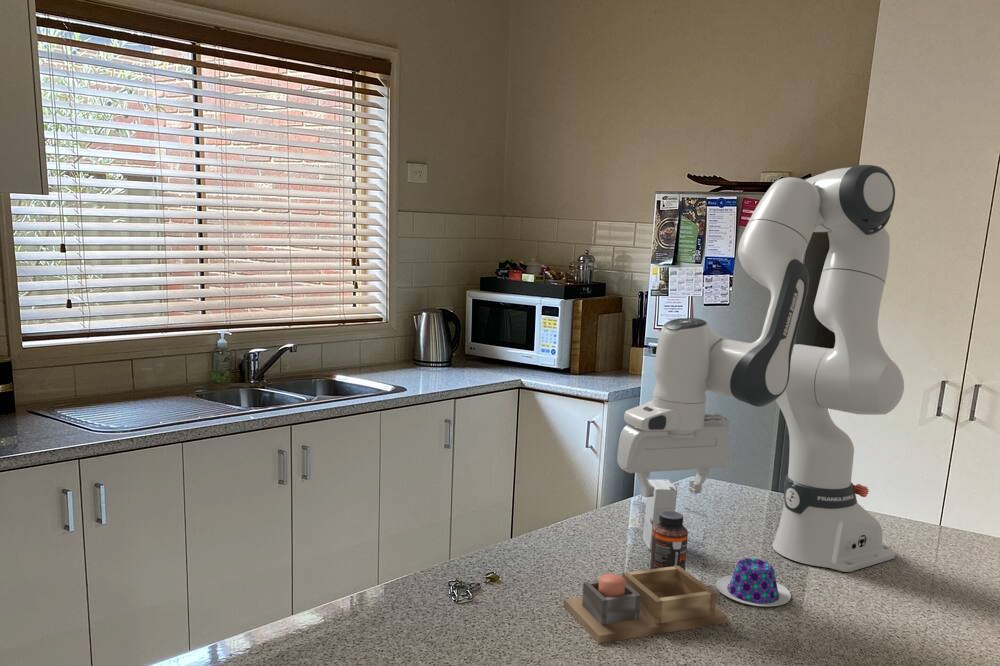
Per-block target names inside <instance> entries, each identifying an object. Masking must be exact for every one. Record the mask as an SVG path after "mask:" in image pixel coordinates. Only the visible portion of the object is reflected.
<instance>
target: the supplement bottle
mask: <svg viewBox="0 0 1000 666" xmlns="http://www.w3.org/2000/svg"><path fill="white" fill-rule="evenodd" d="M659 521H660V522H659V523H657V524H656V525H655V526H654V528H653V535H652V548H651V550H650V551H651V552H650V565H649V566H650V567H649V569H657V568H665V567H673V566H680V567H681V568H682V569H684V570H685V571H686V565H687V563H686V562H687V550H688V538H689V532H688V529H687V527H685V526H684V515H683V514H682V513H680V512H678V511H675V512H674V511H663V512H661V513H660V517H659Z"/></svg>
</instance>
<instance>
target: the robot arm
mask: <svg viewBox="0 0 1000 666" xmlns="http://www.w3.org/2000/svg"><path fill="white" fill-rule="evenodd" d="M890 175H891V174H889V173H888V172H887V171H886V169H884V168H883V167H881V166H878V165H872V164H857V165H853V166H852V167H851V166H849V167H842V168H835V169H832V170H828V171H825V172H823V173H819V174H816V175H813V176H811V177H805V178H801V177H800V178H799V177H795V176H794V177H792V176H791V177H789V176H788V177H783V178H779V179H778V180H776V181H775V182H773V183H772V184H771V186H770V187H768V189H767V191H766V192H765V193H764V195H763V196H762V198H760V201H759V202H758V203H757V205H756V206H755V209H754V210H753V212H752V214H751V216H750V217H749V220H748V222H747V224H746V226H745V228H744V230H743V232H742V234H741V237H740V240H739V242H738V247H737V256H738V260H739V263H740V266H741V267H742V269H743V270H744V271H745V273H746V274H748V276H750V277H751V278H752V279H753V280H754V281H755V282H757V283H759V284H760V285H761V286H763V287H765V288H766V289H767V290H769V291H770V301H769V305H768V309H767V313H766V316H765V319H764V322H763V323H764V324H763V328H762V330H761V333H760V336H759V338H757V340H755V341H753V342H745V341H740V340H733V339H731V338H726V337H724V336H723V335H720V334H718V333H716V332H715V331H713V330H712V329H711V328H710V327H709V324H708V322H707V321H706V320H704V319H700V318H695V317H684V318H683V317H681V318H675V319H671V320H669V321H667V322H666V323H664V324H663V326H661V327H662V328H661V330H660V333H659V335H658V338H657V339H658V340H657V343H656V344H657V345H656V352H655V360H654V374H655V386H654V389H653V391H652V396H651V398H652V399H651V400H649V401H647V402H645V403H642V404H640V405H637V406H635V407H632V408H630V409H627V410H625V412H624V415H623V421H624V422H625V423H626V425H625V426H624V427H623V428H622V430H621V432H620V434H619V435H620V436H619V438H618V439H619V441H618V446H617V455H616V461H617V462H616V463H617V464H618V466H619V467H620V469H622V470H623V471H625V472H627V473H628V474H635V475H636V478H637V480H638V482H639V484H640V485H641V487H640V495H641V496H642V497H643V498H647V497H653V496H654V493H653V492H654V487H653V486H651V485H649V483H648V479H649V478H651V477H650V476H651V473H655V472H657V473H658V472H669V471H670V472H672V471H686V470H689V471H691V470H694V471H695V472H696V474H695V477H694V478H693V480H690V481H689V482H688V491H689V493H692V494H695V495H697V494H701V493H702V490H703V489H702V488H703V484H704V483H705V481H706V480H707V478H708V476H709V475H710V469H718V468H719V469H720V468H725V467H726V466H727V464H728V463H729V461H730V460H729V459H730V439H729V438H730V437H729V431H730V430H729V429H730V421H729V419H728V418H727V417H726V416H725V415H723V414H722V413H718V412H717V413H713V414H712V413H706V405H707V396H706V395H707V394H706V392H710V393H714V394H717V395H720V396H723V397H728V398H732V399H736V400H737V401H740V402H743V403H746V404H748V405H751V406H753V407H757V408H759V407H761V408H762V407H765V406H768V405H769V404H771V403H773V402H774V401H775V402H776V404H777V405H778V406H779V407H778V408H779V409H780V411H781V412H782V415H783V417H784V420H785V423H786V426H787V431H788V436H789V438H788V439H789V451H788V452H789V455H788V456H789V457H788V471H787V474H785V478H784V484H783V485H784V487H783V497H784V501H783V507H782V511H781V515H780V519H779V520H780V521H779V524H778V528H777V530H776V534H775V537H774V539H773V542H772V548H773V550H774V551H775V552H777V554H779V555H781V556H783V558H787V559H789V560H791V561H795V562H798V563H800V564H804V565H808V566H809V565H810V566H815V567H821V568H829V569H833V570H836V571H839V572H844V573H846V572H847V573H851V572H853V571H854V572H855V571H857V570H861V569H864V568H867V567H870V566H875V565H876V564H880V563H885V562H886V561H890V560H893V559H896V553H895V551H894V550H893V549H892V548H891V547H890V546H888V545H886V544H885V543H884V542H883V530H882V528H883V527H882V526H881V523H880V522H879V521H878V520H877V518H875V517H874V516H873V515H872V514H871V513H869V511H867V510H866V509H865V508H864V507H863V506H862V505H861V504H860V503H858V500H857V495H858V496H860V497H862V498H867V496H868V495H869V492H870V490H869V488H868V486H865V485H862V484H860V483H857V484H853V482H852V475H853V467H854V454H855V447H854V444H853V441H852V439H851V437H850V436H849V435H848V434H847V433H846V432H845V431H844V430H842V428H839V427H838V426H837V425H836V424H835V421H833V419H832V418H831V415H830V412H829V410H834V411H839V412H844V413H847V414H848V413H849V414H855V415H862V416H863V415H864V416H865V415H866V416H867V415H871V416H872V415H873V416H874V415H875V416H876V415H877V416H878V415H887V414H889V413H890V412H892V411H893V410H894V409H895V408H896V407H897V406H898V404H899V403H900V401H901V400H902V397H903V394H904V392H905V391H904V390H905V380H904V376H903V373H902V372H901V370H900V368H899V366H898V365H897V364H896V362H895V361H894V360H892V359H891V357H890V356H889V355H888V353H887V352H886V350H885V349H884V346H883V344H882V342H881V338H880V335H879V323H878V322H879V314H880V308H881V302H882V298H883V293H884V288H885V285H886V281H887V280H886V279H887V275H888V269H889V262H890V247H891V245H890V243H891V241H890V240H891V239H890V235H889V232H888V231H887V229H886V228H885V227H886V225H887V224H888V222H889V220H890V218H891V216H892V215H891V214H892V211H893V209H894V205H895V201H896V200H895V199H896V198H895V197H896V189H895V183H894V181H893V180H892V178H891V176H890ZM815 233H827V236H828V240H829V249H828V252H827V255H826V257H825V260H824V265H823V268H822V271H821V274H820V279H819V283H818V287H817V292H816V296H815V299H814V303H813V311H814V316H815V317H816V319H817V320H818V322H820V323H821V325H822V326H824V327H825V328H827V329H828V330H829V331H830V332H833V333H834V337H835V338H834V339H835V342H834V347H833V348H829V347H827V348H826V347H820V346H815V345H814V346H813V345H807V344H798V343H795V342H796V339H797V335H798V331H799V327H800V324H801V320H802V317H803V316H802V315H803V312H804V309H805V303H806V300H807V296H808V291H809V286H810V274H809V273H810V272H809V270H808V268H807V266H806V265H805V264H804V257H805V254H806V250H807V249H808V246H809V243H810V242H811V239H812V235H813V234H815Z"/></svg>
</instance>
